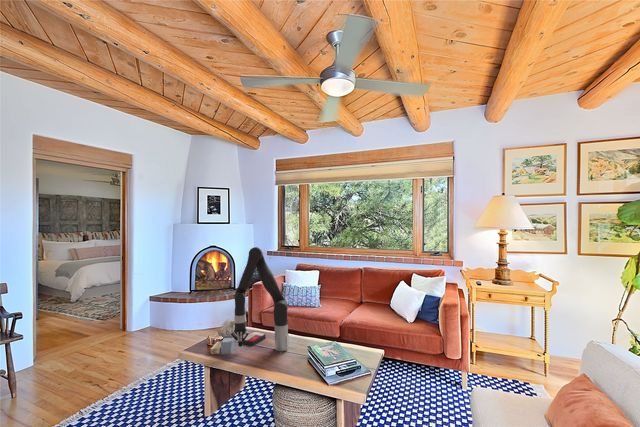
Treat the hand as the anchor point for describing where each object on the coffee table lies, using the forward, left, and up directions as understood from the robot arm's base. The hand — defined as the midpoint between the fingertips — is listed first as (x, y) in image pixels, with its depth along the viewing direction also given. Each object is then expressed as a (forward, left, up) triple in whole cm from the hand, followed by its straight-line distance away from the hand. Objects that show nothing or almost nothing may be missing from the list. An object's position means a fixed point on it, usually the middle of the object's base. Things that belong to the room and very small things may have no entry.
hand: (240, 346), depth 206 cm
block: (+9, 0, -4) cm, 10 cm away
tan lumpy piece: (+17, -2, -4) cm, 17 cm away
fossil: (+19, -22, -4) cm, 29 cm away
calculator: (-4, -19, -4) cm, 20 cm away
